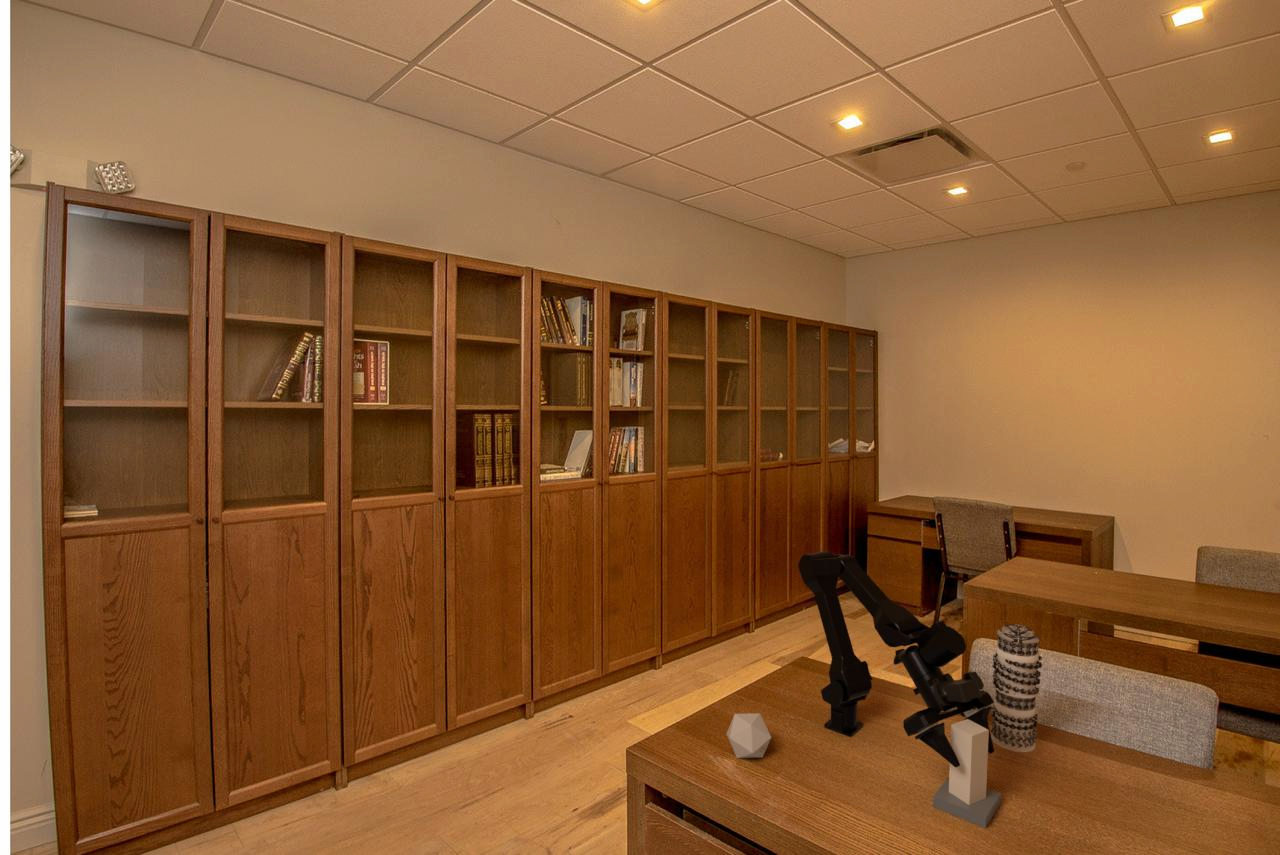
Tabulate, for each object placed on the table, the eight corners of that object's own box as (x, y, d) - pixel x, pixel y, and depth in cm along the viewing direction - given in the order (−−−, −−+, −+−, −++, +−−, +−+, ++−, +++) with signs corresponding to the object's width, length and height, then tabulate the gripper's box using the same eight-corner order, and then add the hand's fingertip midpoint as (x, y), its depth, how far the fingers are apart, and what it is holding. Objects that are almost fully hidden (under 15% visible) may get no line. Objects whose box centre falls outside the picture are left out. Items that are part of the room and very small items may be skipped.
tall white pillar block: (948, 791, 130) (951, 724, 129) (965, 785, 132) (967, 718, 131) (969, 805, 126) (972, 736, 125) (985, 798, 128) (988, 730, 127)
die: (759, 774, 141) (783, 728, 143) (720, 749, 142) (744, 704, 144) (752, 766, 149) (774, 722, 151) (715, 742, 150) (738, 699, 152)
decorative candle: (1048, 747, 148) (1054, 632, 146) (1016, 757, 145) (1022, 639, 142) (1010, 726, 157) (1015, 617, 154) (979, 735, 153) (984, 624, 151)
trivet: (949, 784, 136) (950, 774, 136) (1000, 803, 130) (1000, 793, 130) (932, 806, 129) (933, 796, 129) (985, 828, 123) (985, 817, 123)
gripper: (917, 669, 126) (969, 759, 117) (987, 649, 135) (1040, 731, 126) (883, 693, 134) (928, 779, 125) (950, 672, 142) (998, 751, 134)
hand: (975, 759), depth 127 cm, fingers open, 9 cm apart
